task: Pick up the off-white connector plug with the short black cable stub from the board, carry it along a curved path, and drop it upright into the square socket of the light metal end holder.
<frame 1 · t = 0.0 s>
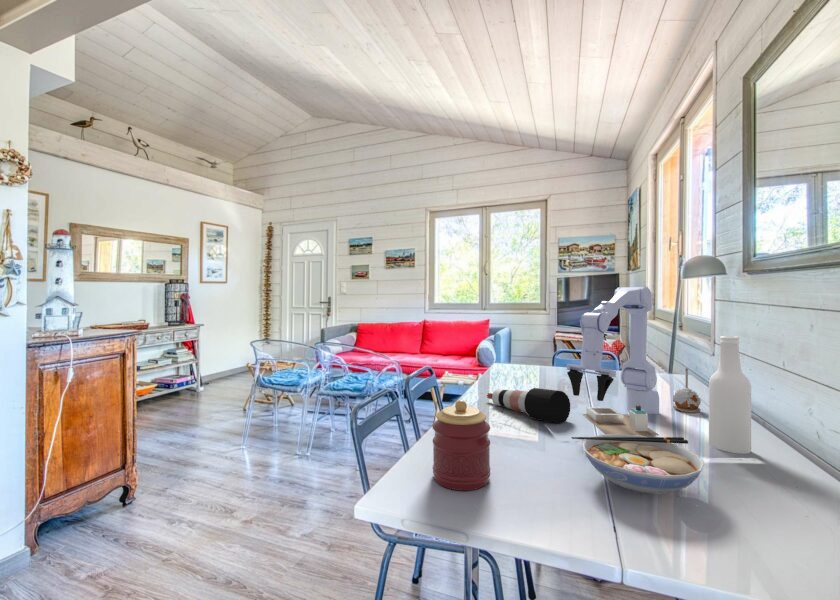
hand: (587, 398, 117), 11 cm above the table, tool pointing down, fingers open, 7 cm apart
alcohol: (729, 451, 104), on the table
ramen bowl: (639, 486, 85), on the table
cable: (521, 413, 139), on the table
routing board: (617, 426, 123), on the table
decorative ornament: (686, 411, 140), on the table
end holder: (604, 418, 128), resting on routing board
connector plug: (638, 429, 118), point 1 cm above the table, touching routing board
canister: (461, 478, 89), on the table
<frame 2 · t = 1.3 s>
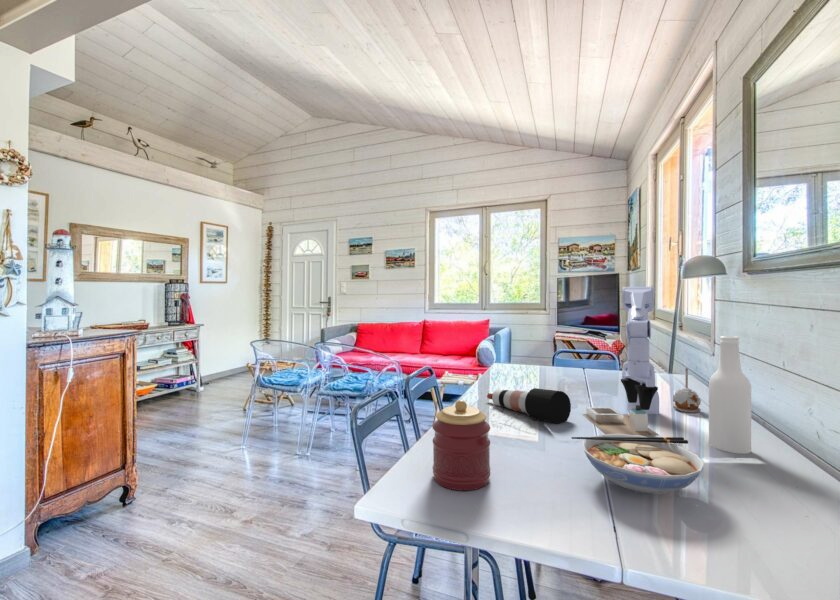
hand: (638, 406, 118), 8 cm above the table, tool pointing down, fingers open, 7 cm apart
nothing on the table moved.
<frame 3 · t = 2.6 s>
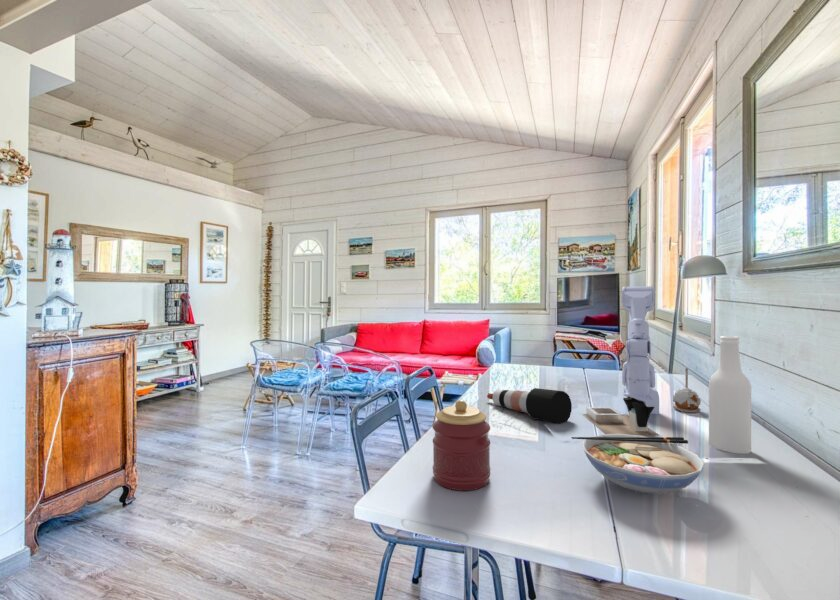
hand: (638, 424, 118), 2 cm above the table, tool pointing down, fingers closed on connector plug, 4 cm apart
connector plug: (638, 429, 118), point 1 cm above the table, touching gripper, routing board
everything else where it was.
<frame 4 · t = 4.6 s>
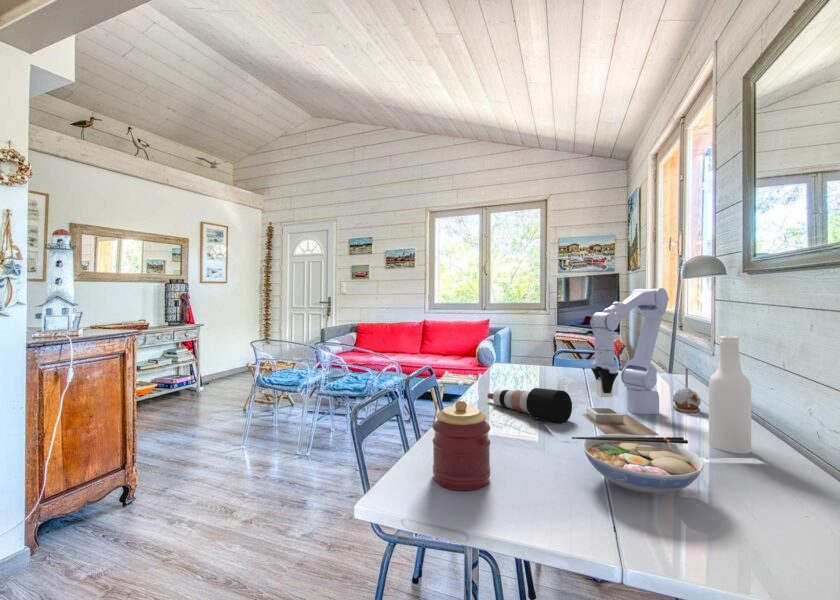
hand: (604, 391, 128), 10 cm above the table, tool pointing down, fingers closed on connector plug, 4 cm apart
connector plug: (604, 395, 128), point 8 cm above the table, touching gripper
everything else where it was.
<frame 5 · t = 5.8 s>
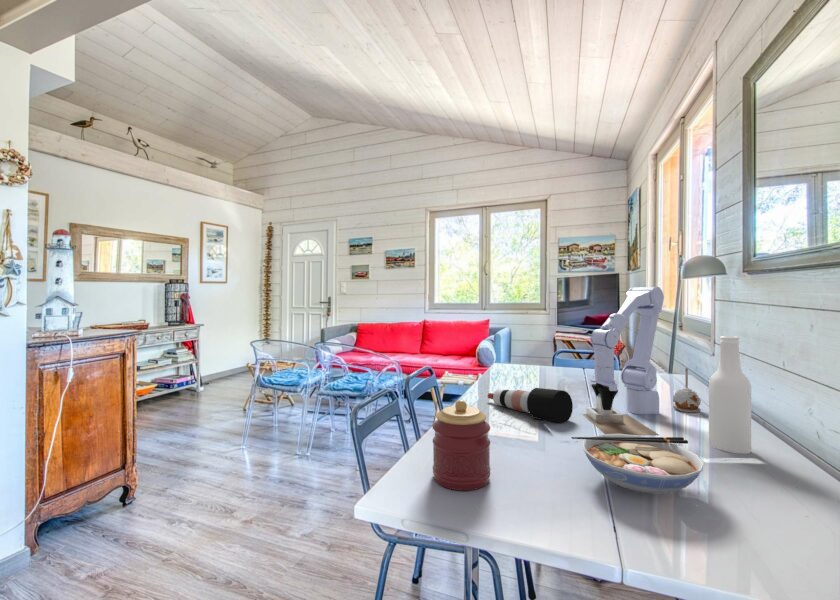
hand: (604, 408, 128), 4 cm above the table, tool pointing down, fingers closed on connector plug, 3 cm apart
connector plug: (604, 412, 128), point 3 cm above the table, touching gripper
everything else where it was.
when the fingers open (4 cm above the table, at t = 6.0 s): connector plug drops 2 cm, resting on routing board.
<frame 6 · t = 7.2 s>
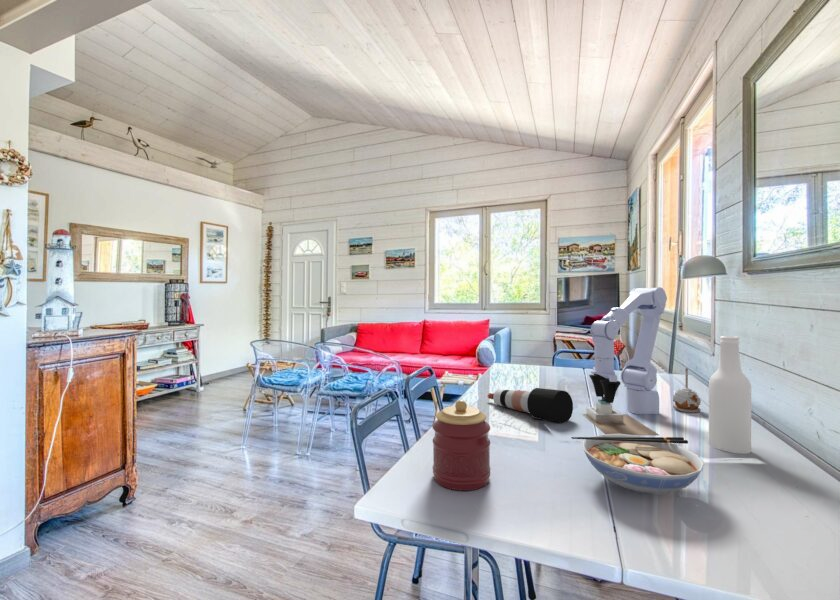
hand: (604, 399, 128), 7 cm above the table, tool pointing down, fingers open, 7 cm apart
connector plug: (604, 418, 128), point 1 cm above the table, touching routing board
everything else where it was.
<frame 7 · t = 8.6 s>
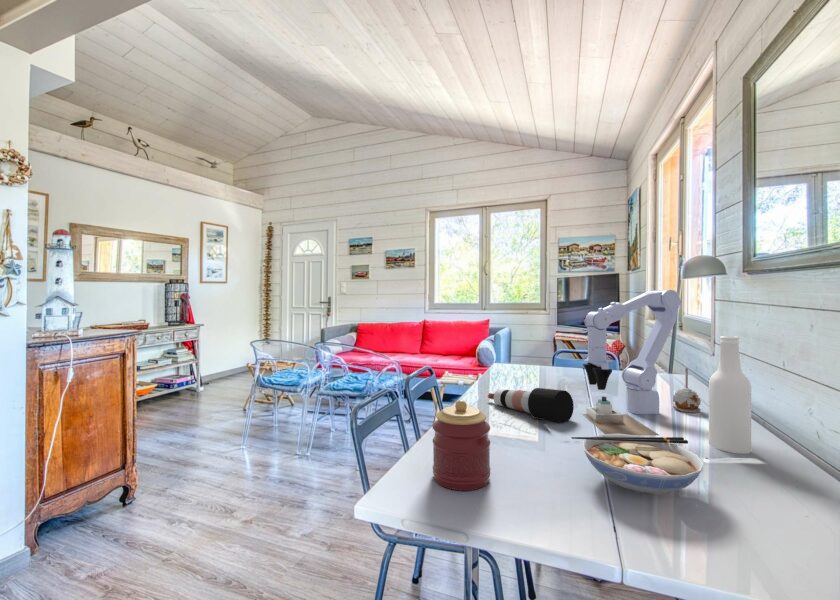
hand: (597, 387, 134), 10 cm above the table, tool pointing down, fingers open, 7 cm apart
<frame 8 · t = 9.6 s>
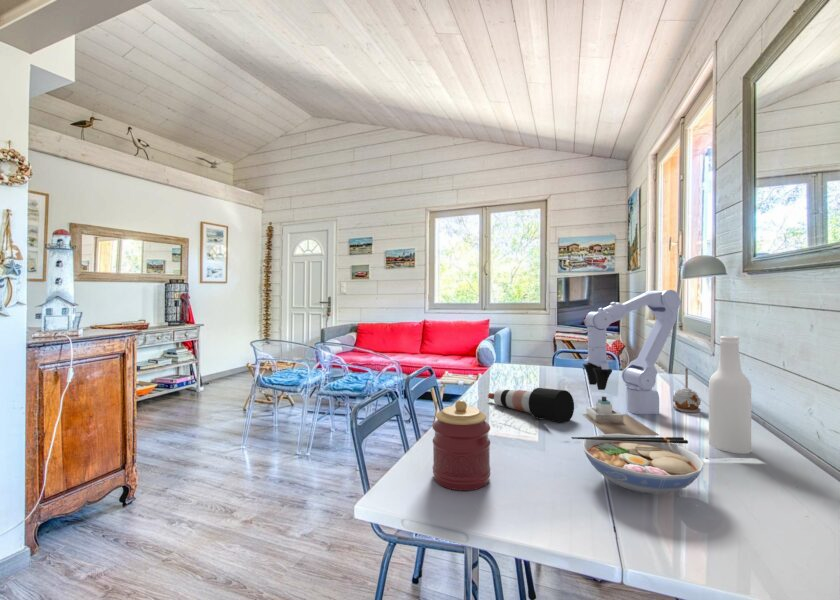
hand: (597, 387, 134), 10 cm above the table, tool pointing down, fingers open, 7 cm apart
at the end: connector plug 0.1 cm off-centre on the end holder, point 0.0 cm above the end holder's base; connector plug tilted 0°; the gripper is holding nothing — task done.
